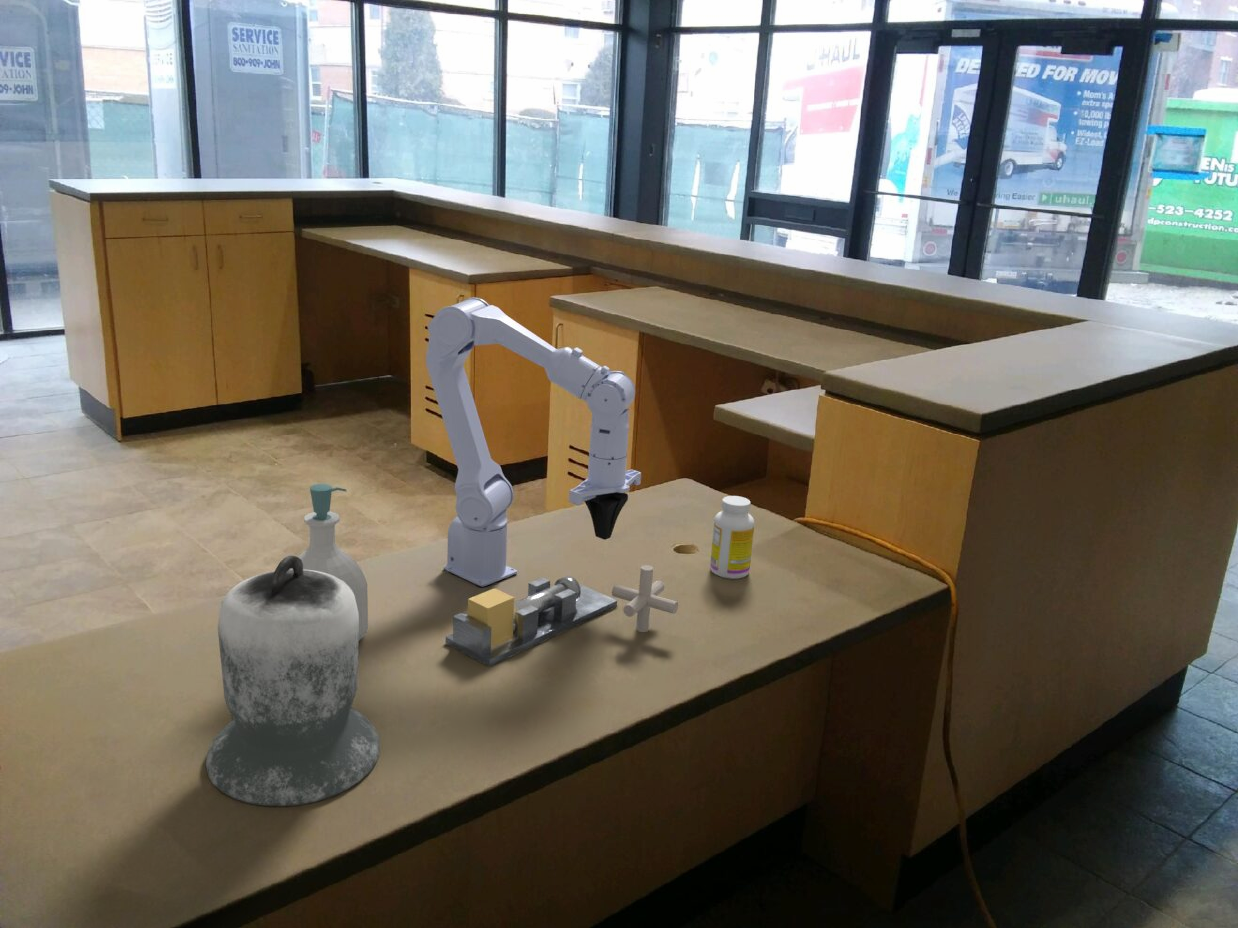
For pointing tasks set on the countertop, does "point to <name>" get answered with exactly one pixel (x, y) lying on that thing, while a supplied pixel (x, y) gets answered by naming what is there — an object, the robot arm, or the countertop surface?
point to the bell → (290, 690)
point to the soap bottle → (333, 551)
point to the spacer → (494, 613)
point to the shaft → (548, 595)
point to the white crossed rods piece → (644, 598)
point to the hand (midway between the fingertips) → (602, 536)
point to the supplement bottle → (732, 539)
